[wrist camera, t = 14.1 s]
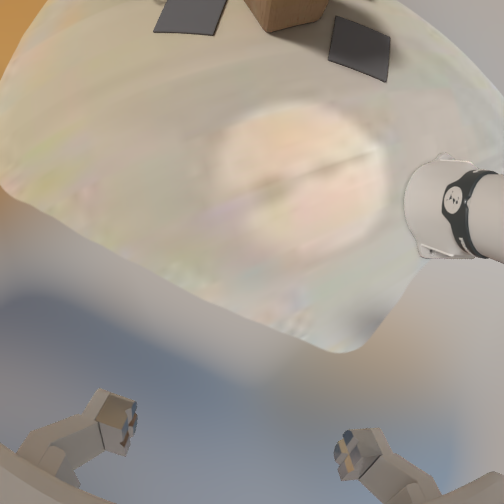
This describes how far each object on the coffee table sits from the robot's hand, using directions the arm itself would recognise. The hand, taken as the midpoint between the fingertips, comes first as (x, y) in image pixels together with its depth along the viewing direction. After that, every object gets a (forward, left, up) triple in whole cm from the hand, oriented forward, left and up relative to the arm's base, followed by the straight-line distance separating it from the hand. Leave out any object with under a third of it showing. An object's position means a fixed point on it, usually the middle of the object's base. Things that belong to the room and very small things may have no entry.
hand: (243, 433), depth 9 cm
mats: (+3, -36, -33) cm, 49 cm away
